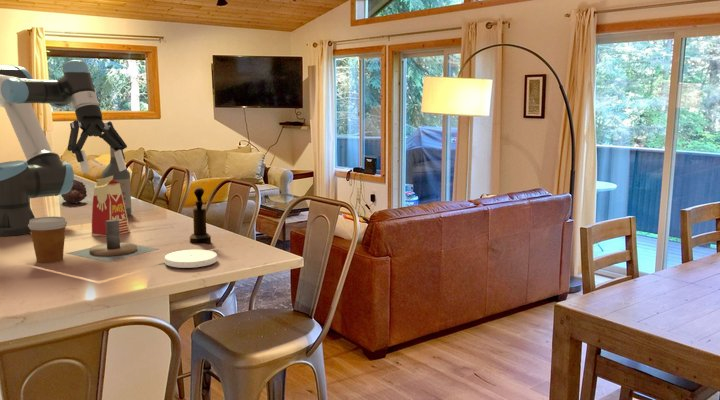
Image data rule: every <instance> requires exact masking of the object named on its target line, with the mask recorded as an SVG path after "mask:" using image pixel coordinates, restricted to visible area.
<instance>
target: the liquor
mask: <svg viewBox="0 0 720 400" xmlns="http://www.w3.org/2000/svg"><path fill="white" fill-rule="evenodd" d="M117 148H118V147H117ZM114 152H116V151H115V150H114V149H113V148H112V147H111V146H110V145H109V155H110V160H109V163H108V165H107V166H106V167H105V168H104V169H103V170H102V172H101V179H103V178H107V177H110V176H113V175H114V176H113V180H115V181H117V182H119V183H120V187H121V191H122V196H123V200H124V205H125V209H126V214H127V217H128V216H131V215H132V190H131V174H130V171H129V170H128V169H125V170H123V171H119V168H118V165H117V161H116V158H115V154H114Z"/></svg>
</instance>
